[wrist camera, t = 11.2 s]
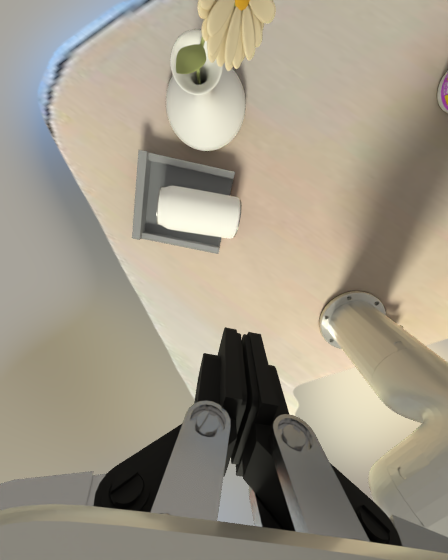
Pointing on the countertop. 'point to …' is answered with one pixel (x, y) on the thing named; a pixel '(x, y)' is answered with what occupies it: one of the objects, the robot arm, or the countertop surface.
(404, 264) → the countertop surface
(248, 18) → the flower in vase
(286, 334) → the countertop surface
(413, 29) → the countertop surface
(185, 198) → the can
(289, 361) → the countertop surface
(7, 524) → the robot arm
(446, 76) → the supplement bottle
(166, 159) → the tray
